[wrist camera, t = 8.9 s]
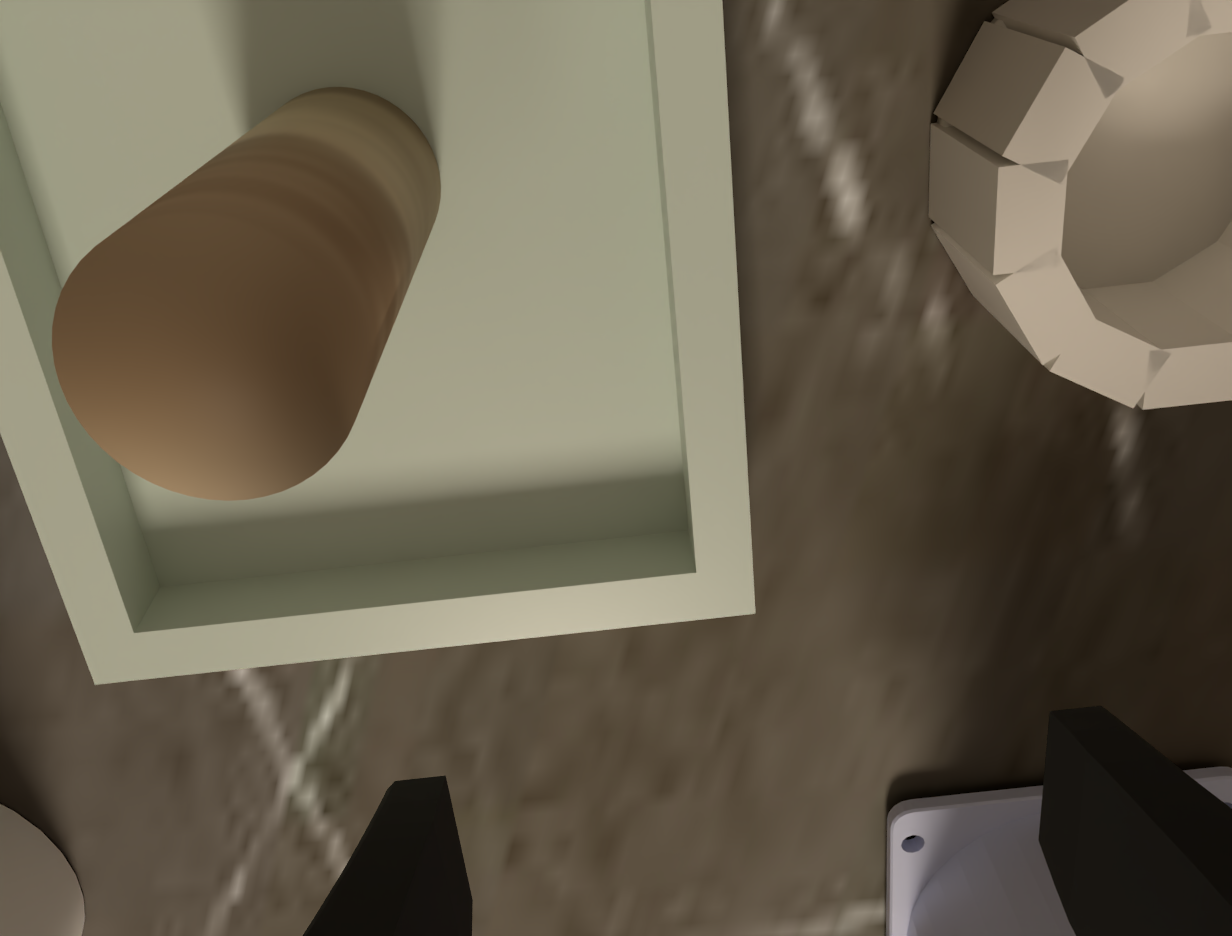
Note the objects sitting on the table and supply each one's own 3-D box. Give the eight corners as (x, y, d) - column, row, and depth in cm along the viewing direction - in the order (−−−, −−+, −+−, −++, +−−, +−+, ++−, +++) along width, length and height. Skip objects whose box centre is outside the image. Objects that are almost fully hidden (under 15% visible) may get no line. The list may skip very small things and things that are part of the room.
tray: (736, 543, 23) (755, 613, 21) (139, 607, 23) (94, 684, 21) (675, -459, 16) (694, -514, 14) (-191, -360, 16) (-313, -399, 14)
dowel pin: (455, 263, 19) (388, 484, 12) (275, 284, 19) (104, 515, 12) (422, 76, 18) (327, 198, 11) (231, 98, 18) (8, 235, 11)
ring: (1281, 310, 21) (1401, 381, 18) (925, 350, 21) (985, 427, 18) (1349, -83, 18) (1504, -78, 15) (934, -38, 18) (1007, -22, 15)
